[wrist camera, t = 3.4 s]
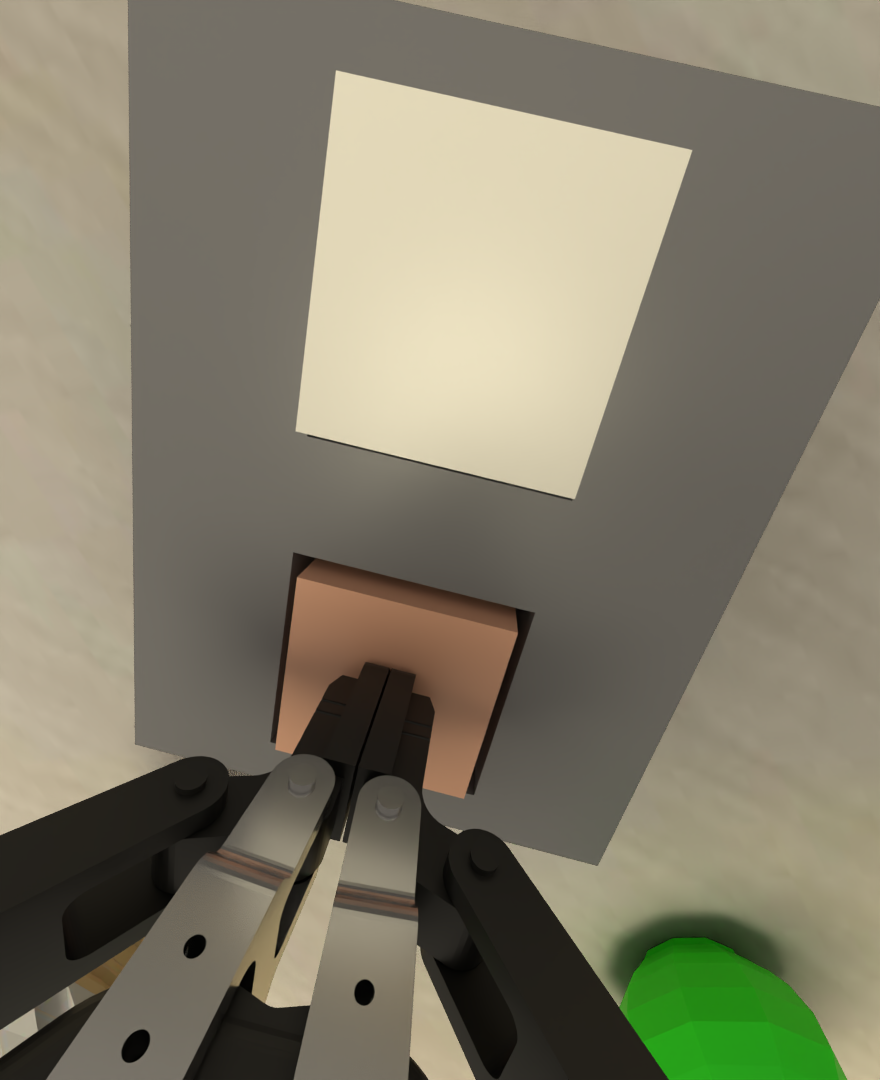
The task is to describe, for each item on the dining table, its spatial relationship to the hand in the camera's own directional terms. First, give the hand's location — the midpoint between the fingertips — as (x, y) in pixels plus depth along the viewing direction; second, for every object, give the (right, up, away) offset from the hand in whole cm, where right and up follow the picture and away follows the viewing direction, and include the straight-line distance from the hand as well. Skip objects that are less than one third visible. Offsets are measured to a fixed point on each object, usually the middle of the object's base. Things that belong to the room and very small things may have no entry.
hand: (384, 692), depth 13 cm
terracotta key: (0, +1, +3) cm, 3 cm away
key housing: (+2, +7, +4) cm, 8 cm away
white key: (+2, +10, -2) cm, 10 cm away
